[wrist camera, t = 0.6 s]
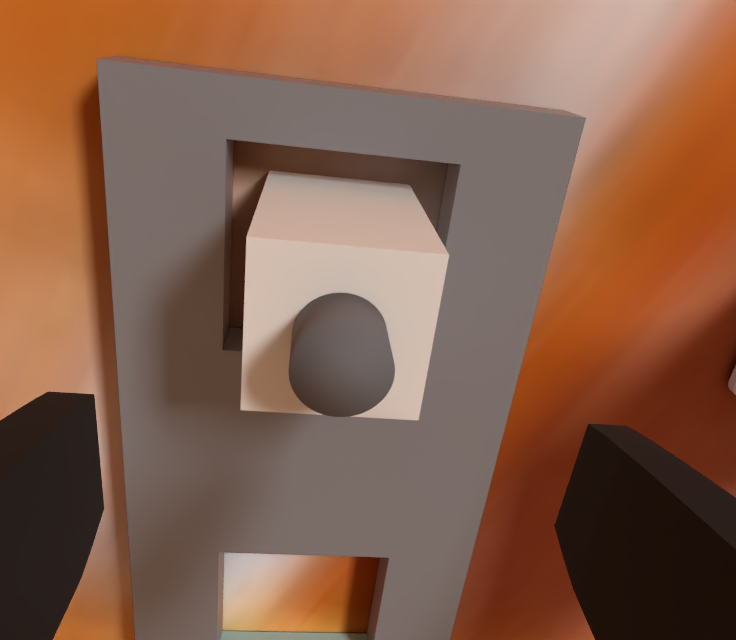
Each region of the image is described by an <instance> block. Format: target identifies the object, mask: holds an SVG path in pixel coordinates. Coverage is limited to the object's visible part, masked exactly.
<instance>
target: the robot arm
mask: <svg viewBox="0 0 736 640" xmlns="http://www.w3.org/2000/svg"><path fill="white" fill-rule="evenodd" d="M728 387H729V390H730V391H731V392H733V393H734V394H735V395H736V366H735V368H734V370H733V372H732V375H731V377H730V379H729V383H728ZM103 510H104V502H103V490H102V479H101V467H100V456H99V444H98V433H97V421H96V410H95V398H94V394H78V393H61V392H47V393H45V394H43V395H41V396H40V397H38V398H36V399H34V400H33V401H31V402H29V403H28V404H26V405H24V406H23V407H21V408H20V409H18V410H16V411H15V412H13V413H12V414H10V415H8V416H7V417H5V418H4V419H2V420H0V640H53V638H54V636H55V633H56V631H57V629H58V627H59V625H60V623H61V621H62V618H63V616H64V614H65V612H66V610H67V608H68V606H69V603H70V601H71V599H72V597H73V595H74V593H75V590H76V588H77V586H78V584H79V582H80V579H81V577H82V574H83V571H84V569H85V566H86V563H87V560H88V557H89V554H90V551H91V548H92V545H93V542H94V539H95V536H96V532H97V529H98V526H99V523H100V520H101V517H102V513H103ZM555 529H556V532H557V536H558V540H559V543H560V547H561V550H562V554H563V557H564V561H565V564H566V567H567V570H568V574H569V577H570V580H571V583H572V586H573V589H574V592H575V594H576V596H577V599H578V601H579V604H580V606H581V608H582V610H583V613H584V615H585V617H586V620H587V622H588V624H589V626H590V629H591V631H592V633H593V636H594V638H595V640H736V498H735V497H734V496H732V495H731V494H730V493H728V492H727V491H725V490H724V489H722V488H721V487H719V486H718V485H716V484H715V483H713V482H712V481H711V480H709V479H708V478H706V477H705V476H703V475H702V474H700V473H699V472H697V471H696V470H695V469H693V468H692V467H690V466H689V465H687V464H686V463H684V462H683V461H681V460H680V459H678V458H677V457H675V456H674V455H672V454H671V453H669V452H668V451H666V450H665V449H663V448H662V447H660V446H659V445H657V444H656V443H654V442H653V441H651V440H650V439H648V438H646V437H645V436H643V435H641V434H640V433H638V432H636V431H634V430H633V429H631V428H629V427H627V426H618V425H601V424H588V426H587V429H586V432H585V435H584V438H583V441H582V445H581V448H580V451H579V454H578V457H577V460H576V463H575V466H574V469H573V472H572V475H571V478H570V481H569V484H568V487H567V490H566V493H565V496H564V499H563V502H562V505H561V508H560V511H559V514H558V517H557V520H556V523H555Z"/></svg>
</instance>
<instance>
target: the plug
mask: <svg viewBox="0 0 736 640" xmlns="http://www.w3.org/2000/svg"><path fill="white" fill-rule="evenodd" d="M448 259H449V254H448V252H447V250H446V248H445V247H444V245H443V243H442V241H441V239H440V238H439V236H438V234H437V232H436V231H435V229H434V227H433V225H432V224H431V222H430V220H429V218H428V216H427V215H426V213H425V211H424V209H423V208H422V206H421V204H420V202H419V201H418V199H417V197H416V195H415V194H414V192H413V190H412V188H411V186H410V185H407V184H397V183H388V182H378V181H368V180H359V179H349V178H339V177H330V176H320V175H310V174H301V173H291V172H282V171H272V170H270V171H269V173H268V176H267V179H266V182H265V185H264V188H263V191H262V193H261V196H260V199H259V202H258V205H257V208H256V211H255V213H254V216H253V219H252V222H251V225H250V228H249V231H248V234H247V236H246V263H245V292H244V321H243V350H242V379H241V408H240V410H246V411H263V412H280V413H298V414H315V415H327V416H332V417H367V418H384V419H401V420H419V415H420V410H421V405H422V399H423V394H424V388H425V383H426V378H427V372H428V367H429V361H430V356H431V351H432V345H433V340H434V334H435V329H436V324H437V318H438V313H439V308H440V302H441V297H442V291H443V286H444V281H445V275H446V270H447V264H448Z"/></svg>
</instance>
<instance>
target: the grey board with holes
mask: <svg viewBox="0 0 736 640" xmlns="http://www.w3.org/2000/svg"><path fill="white" fill-rule="evenodd" d="M97 73H98V88H99V103H100V118H101V133H102V148H103V163H104V178H105V193H106V208H107V223H108V238H109V253H110V268H111V283H112V298H113V313H114V328H115V343H116V358H117V373H118V388H119V403H120V418H121V433H122V448H123V463H124V478H125V493H126V509H127V524H128V539H129V554H130V569H131V584H132V599H133V614H134V629H135V640H450V637H451V633H452V630H453V626H454V622H455V618H456V614H457V610H458V607H459V603H460V599H461V595H462V591H463V587H464V583H465V580H466V576H467V572H468V568H469V564H470V560H471V557H472V553H473V549H474V545H475V541H476V537H477V534H478V530H479V526H480V522H481V518H482V514H483V511H484V507H485V503H486V499H487V495H488V491H489V488H490V484H491V480H492V476H493V472H494V468H495V464H496V461H497V457H498V453H499V449H500V445H501V441H502V438H503V434H504V430H505V426H506V422H507V418H508V415H509V411H510V407H511V403H512V399H513V395H514V392H515V388H516V384H517V380H518V376H519V372H520V369H521V365H522V361H523V357H524V353H525V349H526V345H527V342H528V338H529V334H530V330H531V326H532V322H533V319H534V315H535V311H536V307H537V303H538V299H539V296H540V292H541V288H542V284H543V280H544V276H545V273H546V269H547V265H548V261H549V257H550V253H551V250H552V246H553V242H554V238H555V234H556V230H557V226H558V223H559V219H560V215H561V211H562V207H563V203H564V200H565V196H566V192H567V188H568V184H569V180H570V177H571V173H572V169H573V165H574V161H575V157H576V154H577V150H578V146H579V142H580V138H581V134H582V130H583V127H584V123H585V119H586V118H585V117H582V116H579V115H576V114H573V113H570V112H567V111H564V110H556V109H548V108H540V107H531V106H523V105H515V104H507V103H499V102H490V101H482V100H474V99H466V98H457V97H449V96H441V95H433V94H424V93H416V92H408V91H400V90H391V89H383V88H375V87H367V86H358V85H350V84H342V83H334V82H325V81H317V80H309V79H301V78H293V77H284V76H276V75H268V74H260V73H251V72H243V71H235V70H227V69H218V68H210V67H202V66H194V65H185V64H177V63H169V62H161V61H152V60H144V59H136V58H128V57H120V56H113V57H106V58H99V59H97ZM234 140H239V141H249V142H258V143H267V144H276V145H285V146H295V147H304V148H313V149H322V150H331V151H341V152H350V153H359V154H368V155H378V156H387V157H396V158H405V159H414V160H424V161H433V162H442V163H448V167H447V173H446V178H445V184H444V190H443V196H442V201H441V207H440V213H439V219H438V225H437V230H436V232H437V234H438V236H439V238H440V239H441V241H442V243H443V245H444V247H445V248H446V250H447V252H448V254H449V259H448V264H447V270H446V275H445V281H444V286H443V291H442V297H441V302H440V308H439V313H438V318H437V324H436V329H435V334H434V340H433V345H432V351H431V356H430V361H429V367H428V372H427V378H426V383H425V388H424V394H423V399H422V405H421V410H420V415H419V420H401V419H384V418H367V417H332V416H327V415H315V414H298V413H280V412H263V411H246V410H240V408H241V379H242V350H243V328H233V327H229V323H230V281H231V239H232V196H233V154H234ZM224 552H230V553H261V554H292V555H323V556H354V557H380V560H379V566H378V571H377V577H376V583H375V589H374V595H373V600H372V606H371V612H370V618H369V623H368V629H367V634H365V633H308V632H252V631H222V619H223V577H224Z"/></svg>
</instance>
